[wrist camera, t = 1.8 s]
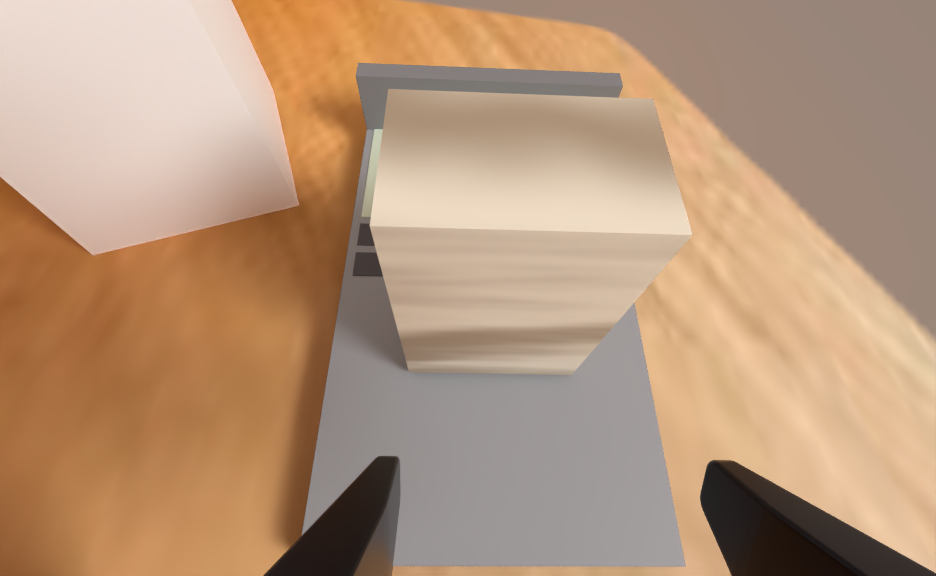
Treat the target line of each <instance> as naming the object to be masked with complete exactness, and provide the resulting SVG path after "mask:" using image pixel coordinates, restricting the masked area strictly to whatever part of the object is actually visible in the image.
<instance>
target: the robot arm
mask: <svg viewBox="0 0 936 576" xmlns="http://www.w3.org/2000/svg"><path fill="white" fill-rule="evenodd" d="M400 494H401V490H400V459H399V457H397V456H378V457H376V458H375V459H374V460H373V461H372V462H371V463H370V464H369V465H368V466H367V468H366V469H365V470H364V471H363V472H362V473H361V474H360V475H359V476H358V477H357V478H356V479H355V480H354V481H353V482H352V483H351V484H350V485H349V486H348V487H347V489H346V490H345V491H344V492H343V493H342V494H341V495H340V496H339V497H338V498H337V499H336V500H335V501H334V502H333V503H332V504H331V505H330V506H329V507H328V508H327V510H326V511H325V512H324V513H323V514H322V515H321V516H320V517H319V518H318V519H317V520H316V521H315V522H314V523H313V524H312V525H311V526H310V527H309V528H308V529H307V531H306V532H305V533H304V534H303V535H302V536H301V537H300V538H299V539H298V540H297V541H296V542H295V543H294V544H293V545H292V546H291V547H290V548H289V549H288V550H287V552H286V553H285V554H284V555H283V556H282V557H281V558H280V559H279V560H278V561H277V562H276V563H275V564H274V565H273V566H272V567H271V568H270V569H269V570H268V571H267V573H266V574H265V575H264V576H392V569H393V560H394V551H395V543H396V534H397V525H398V517H399V508H400ZM700 501H701V506H702V509H703V511H704V514H705V516H706V518H707V520H708V523H709V525H710V527H711V530H712V532H713V534H714V536H715V539H716V541H717V543H718V546H719V548H720V550H721V552H722V555H723V557H724V559H725V561H726V564H727V566H728V568H729V571H730V573H731V575H732V576H936V573H934V572H933V571H931V570H929V569H927V568H925V567H924V566H922V565H920V564H918V563H916V562H915V561H913V560H911V559H909V558H907V557H906V556H904V555H902V554H900V553H898V552H897V551H895V550H893V549H891V548H889V547H888V546H886V545H884V544H882V543H880V542H879V541H877V540H875V539H873V538H871V537H870V536H868V535H866V534H864V533H862V532H861V531H859V530H857V529H855V528H853V527H852V526H850V525H848V524H846V523H844V522H843V521H841V520H839V519H837V518H835V517H834V516H832V515H830V514H828V513H826V512H825V511H823V510H821V509H819V508H817V507H816V506H814V505H812V504H810V503H808V502H807V501H805V500H803V499H801V498H799V497H798V496H796V495H794V494H792V493H790V492H789V491H787V490H785V489H783V488H781V487H780V486H778V485H776V484H774V483H772V482H771V481H769V480H767V479H765V478H763V477H762V476H760V475H758V474H756V473H754V472H753V471H751V470H749V469H747V468H745V467H744V466H742V465H740V464H738V463H737V462H734V461H731V460H713V461H710V462H709V463H708V465H707V468H706V472H705V477H704V481H703V485H702V490H701V495H700Z"/></svg>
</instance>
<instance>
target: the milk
mask: <svg viewBox="0 0 936 576" xmlns="http://www.w3.org/2000/svg"><path fill="white" fill-rule="evenodd" d="M0 177H1V178H2V179H3V180H5V181H6V182H7V183H8V184H9V185H10V186H12V187H13V188H14V189H15V190H16V191H18V192H19V193H20V194H21V195H22V196H23V197H25V198H26V199H27V200H28V201H29V202H30V203H32V204H33V205H34V206H35V207H36V208H38V209H39V210H40V211H41V212H42V213H43V214H45V215H46V216H47V217H48V218H49V219H51V220H52V221H53V222H54V223H55V224H56V225H58V226H59V227H60V228H61V229H62V230H64V231H65V232H66V233H67V234H68V235H69V236H71V237H72V238H73V239H74V240H75V241H77V242H78V243H79V244H80V245H81V246H82V247H84V248H85V249H86V250H87V251H88V252H89V253H91V254H92V255H96V254H100V253H104V252H109V251H113V250H117V249H121V248H125V247H129V246H134V245H138V244H142V243H146V242H150V241H154V240H159V239H163V238H167V237H171V236H175V235H179V234H184V233H188V232H192V231H196V230H200V229H204V228H209V227H213V226H217V225H221V224H225V223H229V222H234V221H238V220H242V219H246V218H250V217H254V216H259V215H263V214H267V213H271V212H275V211H279V210H284V209H288V208H292V207H296V206H299V202H298V198H297V193H296V189H295V184H294V180H293V175H292V171H291V166H290V162H289V157H288V153H287V149H286V144H285V140H284V135H283V131H282V126H281V122H280V117H279V113H278V108H277V104H276V100H275V95H274V91H273V89H272V86H271V84H270V82H269V80H268V78H267V76H266V74H265V71H264V69H263V67H262V65H261V63H260V61H259V59H258V56H257V54H256V52H255V50H254V48H253V46H252V44H251V41H250V39H249V37H248V35H247V33H246V31H245V28H244V26H243V24H242V22H241V20H240V18H239V16H238V13H237V11H236V9H235V7H234V5H233V3H232V1H231V0H0Z"/></svg>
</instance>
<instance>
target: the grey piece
mask: <svg viewBox="0 0 936 576" xmlns="http://www.w3.org/2000/svg"><path fill="white" fill-rule="evenodd" d="M356 79H357V84H358V89H359V94H360V99H361V103H362V108H363V113H364V118H365V122H366V127H367V132H366V139H365V145H364V151H363V157H362V164H361V170H360V176H359V182H358V188H357V195H356V201H355V207H354V213H353V220H352V226H351V232H350V238H349V244H348V251H347V257H346V263H345V269H344V275H343V282H342V288H341V294H340V300H339V307H338V313H337V319H336V325H335V331H334V338H333V344H332V350H331V356H330V363H329V369H328V375H327V381H326V387H325V394H324V400H323V406H322V412H321V419H320V425H319V431H318V437H317V443H316V450H315V456H314V462H313V468H312V475H311V481H310V487H309V493H308V499H307V506H306V512H305V518H304V524H303V531H302V535H303V534H304V533H305V532H306V531H307V529H308V528H309V527H310V526H311V525H312V524H313V523H314V522H315V521H316V520H317V519H318V518H319V517H320V516H321V515H322V514H323V513H324V512H325V511H326V510H327V508H328V507H329V506H330V505H331V504H332V503H333V502H334V501H335V500H336V499H337V498H338V497H339V496H340V495H341V494H342V493H343V492H344V491H345V490H346V489H347V487H348V486H349V485H350V484H351V483H352V482H353V481H354V480H355V479H356V478H357V477H358V476H359V475H360V474H361V473H362V472H363V471H364V470H365V469H366V468H367V466H368V465H369V464H370V463H371V462H372V461H373V460H374V459H375V458H376V457H378V456H397V457H399V459H400V490H401V494H400V508H399V517H398V525H397V534H396V543H395V551H394V560H393V566H646V567H686V565H685V560H684V555H683V550H682V545H681V540H680V534H679V529H678V524H677V519H676V514H675V509H674V504H673V499H672V493H671V488H670V483H669V478H668V473H667V468H666V463H665V458H664V452H663V447H662V442H661V437H660V432H659V427H658V422H657V417H656V411H655V406H654V401H653V396H652V391H651V386H650V381H649V376H648V370H647V365H646V360H645V355H644V350H643V345H642V340H641V335H640V329H639V324H638V319H637V314H636V309H635V304H634V303H633V305H632V306H631V307H630V308H629V309H628V310H627V311H626V313H625V314H624V315H623V316H622V317H621V318H620V320H619V321H618V322H617V323H616V324H615V325H614V327H613V328H612V329H611V330H610V331H609V332H608V333H607V335H606V336H605V337H604V338H603V339H602V340H601V342H600V343H599V344H598V345H597V346H596V347H595V349H594V350H593V351H592V352H591V353H590V354H589V356H588V357H587V358H586V359H585V360H584V361H583V362H582V364H581V365H580V366H579V367H578V368H577V369H576V371H575V372H574V373H573V374H572V375H535V374H475V373H414V372H409V370H408V367H407V363H406V359H405V356H404V352H403V348H402V344H401V341H400V337H399V333H398V330H397V326H396V322H395V318H394V315H393V311H392V307H391V304H390V300H389V296H388V292H387V289H386V285H385V281H384V278H383V274H382V270H381V266H380V263H379V259H378V255H377V252H376V248H375V244H374V240H373V237H372V233H371V229H370V219H371V212H372V205H373V198H374V190H375V183H376V176H377V168H378V161H379V154H380V146H381V139H382V132H383V124H384V117H385V110H386V102H387V95H388V89H404V90H430V91H456V92H483V93H509V94H535V95H561V96H587V97H614V98H618V97H619V95H620V92H621V90H622V87H623V85H622V81H621V77H620V73H596V72H571V71H546V70H521V69H496V68H471V67H446V66H421V65H396V64H371V63H358V67H357V72H356Z"/></svg>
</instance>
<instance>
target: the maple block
mask: <svg viewBox="0 0 936 576" xmlns="http://www.w3.org/2000/svg"><path fill="white" fill-rule="evenodd" d="M370 229H371V233H372V237H373V240H374V244H375V248H376V252H377V255H378V259H379V263H380V266H381V270H382V274H383V278H384V281H385V285H386V289H387V292H388V296H389V300H390V304H391V307H392V311H393V315H394V318H395V322H396V326H397V330H398V333H399V337H400V341H401V344H402V348H403V352H404V356H405V359H406V363H407V367H408V370H409V372H414V373H475V374H535V375H572V374H573V373H574V372H575V371H576V369H577V368H578V367H579V366H580V365H581V364H582V362H583V361H584V360H585V359H586V358H587V357H588V356H589V354H590V353H591V352H592V351H593V350H594V349H595V347H596V346H597V345H598V344H599V343H600V342H601V340H602V339H603V338H604V337H605V336H606V335H607V333H608V332H609V331H610V330H611V329H612V328H613V327H614V325H615V324H616V323H617V322H618V321H619V320H620V318H621V317H622V316H623V315H624V314H625V313H626V311H627V310H628V309H629V308H630V307H631V306H632V305H633V303H634V302H635V301H636V300H637V299H638V298H639V296H640V295H641V294H642V293H643V292H644V291H645V289H646V288H647V287H648V286H649V285H650V284H651V282H652V281H653V280H654V279H655V278H656V277H657V276H658V274H659V273H660V272H661V271H662V270H663V269H664V267H665V266H666V265H667V264H668V263H669V262H670V260H671V259H672V258H673V257H674V256H675V255H676V254H677V252H678V251H679V250H680V249H681V248H682V247H683V245H684V244H685V243H686V242H687V241H688V240H689V238H690V237H691V236H692V231H691V228H690V225H689V221H688V218H687V214H686V211H685V207H684V204H683V200H682V197H681V193H680V190H679V186H678V183H677V180H676V176H675V173H674V169H673V166H672V162H671V159H670V155H669V152H668V148H667V145H666V142H665V138H664V135H663V131H662V128H661V124H660V121H659V117H658V114H657V110H656V107H655V103H654V100H653V99H640V98H614V97H587V96H561V95H535V94H509V93H483V92H456V91H430V90H404V89H388V95H387V102H386V110H385V117H384V124H383V132H382V139H381V146H380V154H379V161H378V168H377V176H376V183H375V190H374V198H373V205H372V212H371V219H370Z"/></svg>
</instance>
